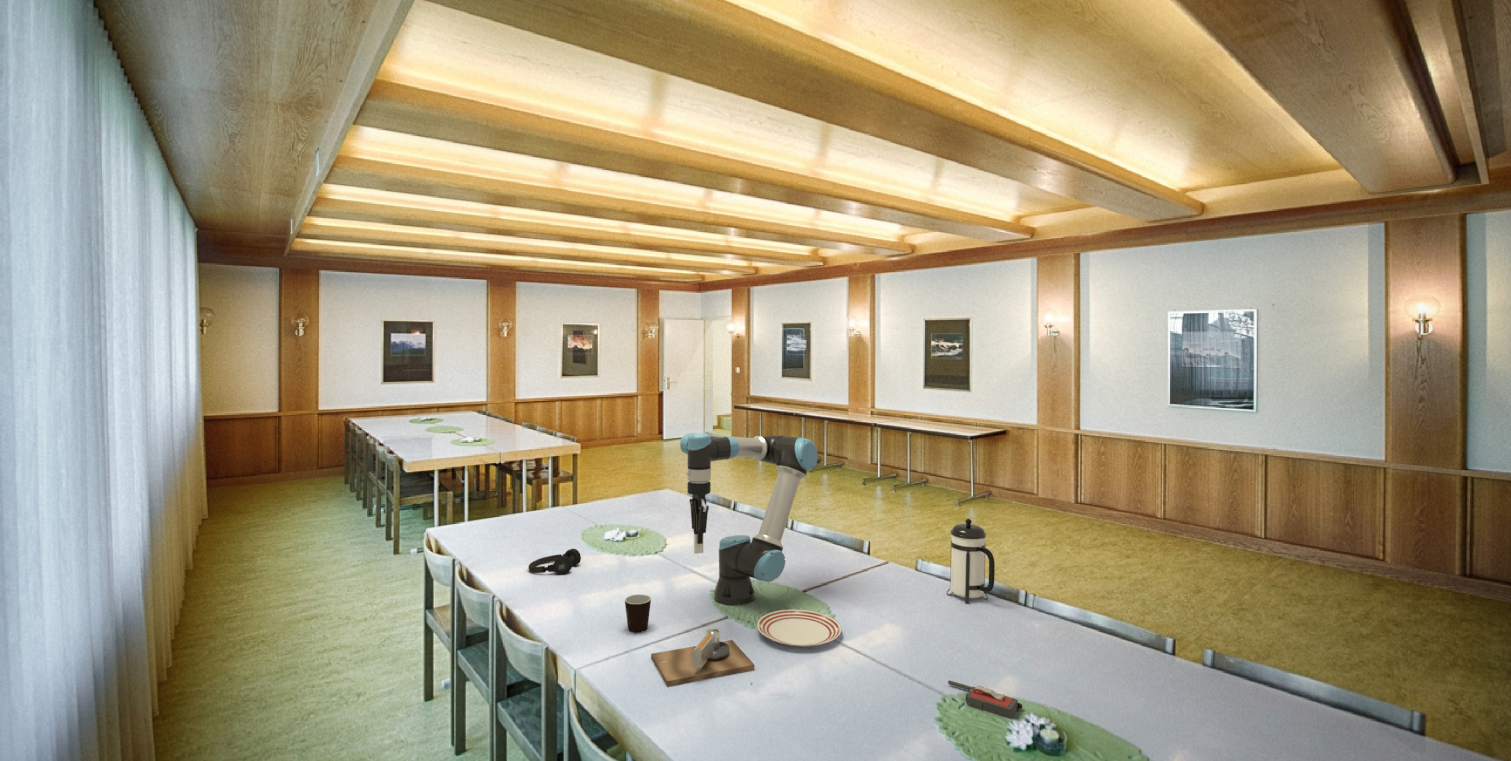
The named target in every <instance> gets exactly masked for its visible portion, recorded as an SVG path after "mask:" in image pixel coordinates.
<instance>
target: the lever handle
mask: <svg viewBox="0 0 1511 761" xmlns="http://www.w3.org/2000/svg"><path fill="white" fill-rule="evenodd" d="M695 646H696V647H695V648H694V650H693V667H696V668H702V667H703V666H704V664H705V663H706V662H707V660H708V661H715V660H721V659H724V658H726V657H727V656H728V655H729V646H728V645H727V644H726V643H724V642H722V641H721V640H720V630H719V629H716V628H709V629H706V631H705V635H704V637H702V639H701V640H700V641H699V642H698V644H697V645H695Z"/></svg>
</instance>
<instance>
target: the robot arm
mask: <svg viewBox="0 0 1511 761" xmlns="http://www.w3.org/2000/svg"><path fill="white" fill-rule="evenodd" d="M679 446H680V450H681V451H682V453H684V454H686V455H687V471H686V472H685V474H686V475H687V481H688V482H687V491H686V492H687V494H689V495H692V496H691V498H690V499H689V505H690V519H691V528H692V530H693V549H694V550H693V553H694V554H704V534H706V532H707V525H708V513H709V508H710V507H709V505H707V499H706V496H707V495H708V494H710V493H711V486H712V485H711V484H712V483H711V480H712V478H711V477H712V476H711V475H712V469H711V468H712V465H711V464H712V462H718V461H724V460H731V459H734V458H744V459H745V458H746V459H752V460H753V461H757V462H764V463H767V464H771V465H776V467H775V468H776V469H777V471H778V472H777V476H776V480H775V483H774V486H773V488H772V492H771V494H770V497H769V501H768V504H767V506H766V509H765V513H764V516H763V519H762V522H761V525H760V529H759V531H758V534H756V535H754V536H753V537H752V539H751V537H750V536H749V535H746V534H745V535H744V534H740V535H729V536H724V537H723V538H721V539H720V541H719V547H718V580H717V582H716V585H715V589H714V591H713V592H714V593H713V595H714V597H713V598H714V601H716V602H717V603H719V604H723V605H727V604H729V605H728V606H739V605H738V604H741V605H746V604H749V603H751V602H753V601H754V600H755V589H754V585H753V583H752V580H751V578H753V579H756V580H757V581H761V582H765V583H766V582H767V583H769V582H774V581H776V580H777V579H778V578H779V577H780V576H781V574H782V573H783V571H784V569H785V566H786V560H785V558H786V557H785V554H784V553H783V550H784V547H783V545H782V539H783V536H784V533H785V529H786V526H787V523H788V520H789V517H790V513H791V510H792V507H793V504H794V502H795V501H794V500H795V498H796V494H797V491H798V488H799V485H800V481H801V480H802V479H804V478H806V476H807V472H808V471H812V470H813V469H814V468H815V467H816V466H817V463H818V459H819V458H818V456H819V455H818V454H819V453H818V450H817V446H816V444H815V443H814V442H813V441H812V440H811V439H808V438H805V437H797V436H787V435H780V434H779V435H756V436H754V437H744V436H743V437H742V436H741V437H740V436H730V435H728V436H727V435H716V434H715V435H713V434H710V433H705V432H703V433H702V432H699V433H698V432H697V433H696V432H695V433H694V432H692V433H691V432H690V433H689V432H687V433H685V434H684V435H683V436H682V437H681V439H680V443H679ZM745 603H746V604H745ZM730 604H731V605H730Z"/></svg>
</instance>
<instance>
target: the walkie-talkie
mask: <svg viewBox="0 0 1511 761" xmlns="http://www.w3.org/2000/svg"><path fill="white" fill-rule="evenodd" d="M947 683H948V685H951V686H954V687H957V688H961V689H964V690H968V691H969V692H966V694H965V698H964V699H965V702H967V703H966V705H967V706H968V707H971V708H975V709H978V710H981V711H982V712H983V711H984V712H988V713H991V714H995V715H997V716H1000V717H1004V718H1007V719H1013V718H1014V716H1015V714H1016V713H1017V711H1018V709H1022V708H1023V704H1022V703H1020V702H1018V699H1017V698H1014V697H1011V696H1006V695H1005V694H1004V693H1001V694H1000V693H998V692H996V691H995V690H993V689H991V688H988V687H984V686H981V685H976V686H969V685H967V684H963V683H961V682H960V683H959V682H956V681H953V680H948V681H947Z"/></svg>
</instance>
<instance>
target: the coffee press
mask: <svg viewBox="0 0 1511 761" xmlns="http://www.w3.org/2000/svg"><path fill="white" fill-rule="evenodd" d="M965 519H966V520H965V521H964V522H965V523H960V524H959V523H958V524H956V525H954V526H953V527H952V529H951V530H950V534H951V540H950V569H949V570H950V573H949V574H950V575H949V577H950V578H949V583H950V584H949V585H950V587H949V588H948V589H947V591H946V595H947V596H951V595H956V596H958V597H961V598H964V601H965V602H964V603H965V604H970V599H977V598H980V597H981V598H983V599H984V600H985V601H987V600H988V599H989V597H988V594H987V593H989V592H991V591H993V589H994V586H995V574H996V573H995V565H996V564H995V558H994V555H993V553H992V551H991V550H990V549H988V548H986V545H987V544H986V537H987V532H986V531H985V529H984V528H983V527H981V526H979V525H976V524H972V523H973V522H972V520H971V518H965ZM986 556H987V558H988V584H987V586H985V584H986V583H985V582H986V568H985V563H986ZM949 591H951V592H950V593H949ZM984 594H985V596H986V597H984V596H983V595H984Z"/></svg>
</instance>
